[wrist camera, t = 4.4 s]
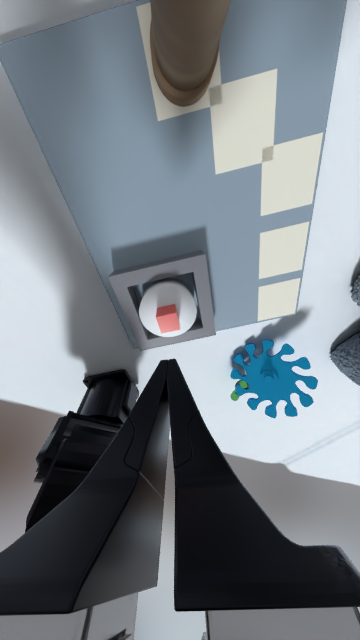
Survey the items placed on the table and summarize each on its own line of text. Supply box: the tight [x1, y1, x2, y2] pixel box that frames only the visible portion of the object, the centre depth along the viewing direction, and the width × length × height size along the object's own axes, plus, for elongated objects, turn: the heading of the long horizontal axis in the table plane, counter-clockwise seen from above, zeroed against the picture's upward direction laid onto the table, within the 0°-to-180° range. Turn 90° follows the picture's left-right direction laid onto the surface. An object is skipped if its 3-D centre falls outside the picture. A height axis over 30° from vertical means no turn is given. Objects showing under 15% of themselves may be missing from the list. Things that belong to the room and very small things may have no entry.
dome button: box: [139, 278, 197, 337], centre depth 17 cm, size 6×6×4 cm
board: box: [0, 0, 347, 351], centre depth 15 cm, size 21×24×3 cm
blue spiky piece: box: [231, 340, 318, 418], centre depth 25 cm, size 11×6×10 cm
